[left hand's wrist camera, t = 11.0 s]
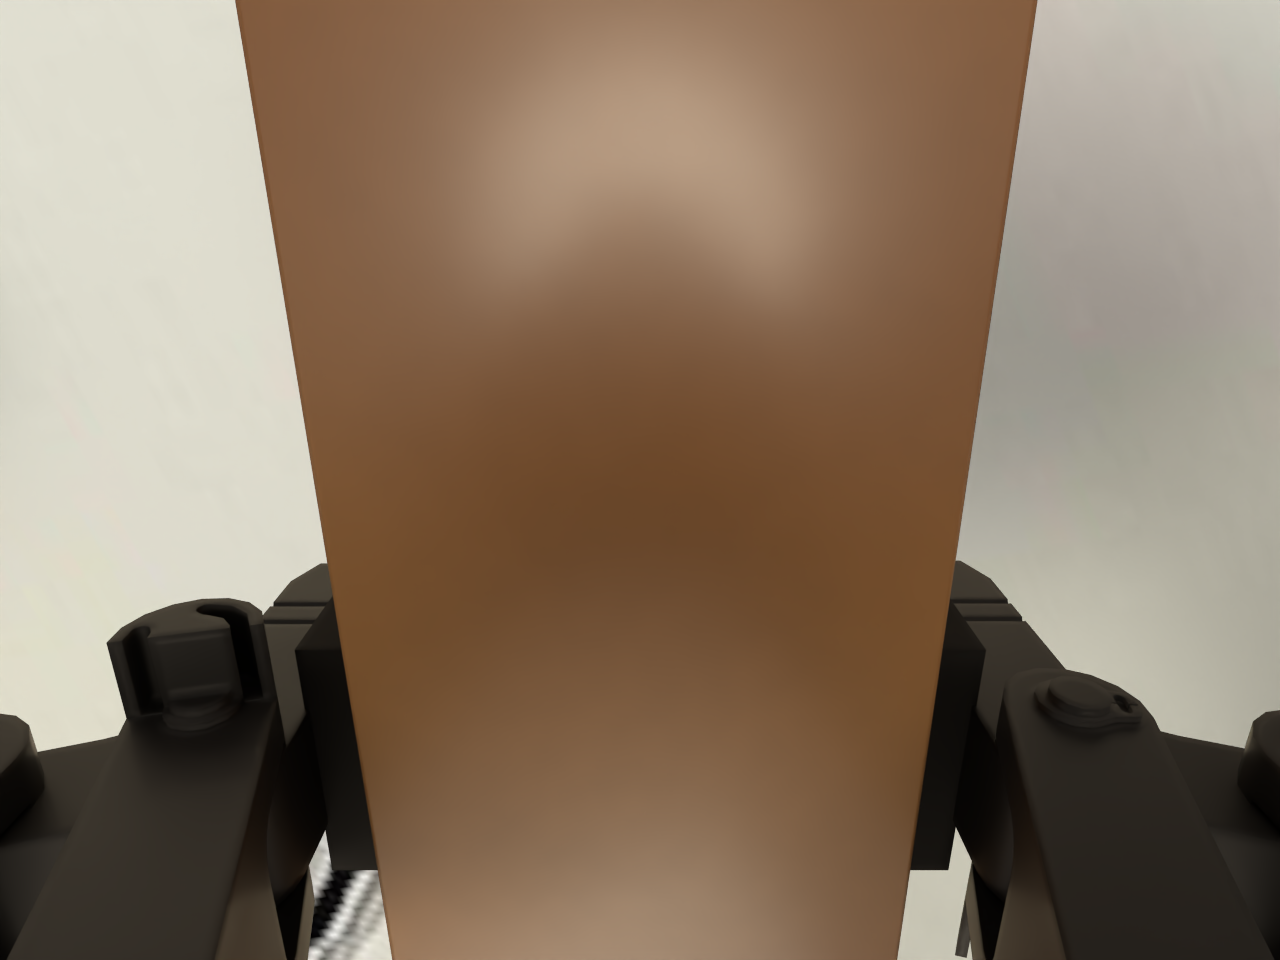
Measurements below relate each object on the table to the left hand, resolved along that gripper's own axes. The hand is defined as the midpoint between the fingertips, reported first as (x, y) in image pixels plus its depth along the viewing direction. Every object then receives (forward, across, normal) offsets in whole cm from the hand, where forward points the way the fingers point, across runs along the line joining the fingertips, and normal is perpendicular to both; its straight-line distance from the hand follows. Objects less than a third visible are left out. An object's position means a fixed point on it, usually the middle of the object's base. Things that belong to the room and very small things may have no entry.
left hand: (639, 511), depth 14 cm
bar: (+1, 0, -33) cm, 33 cm away
